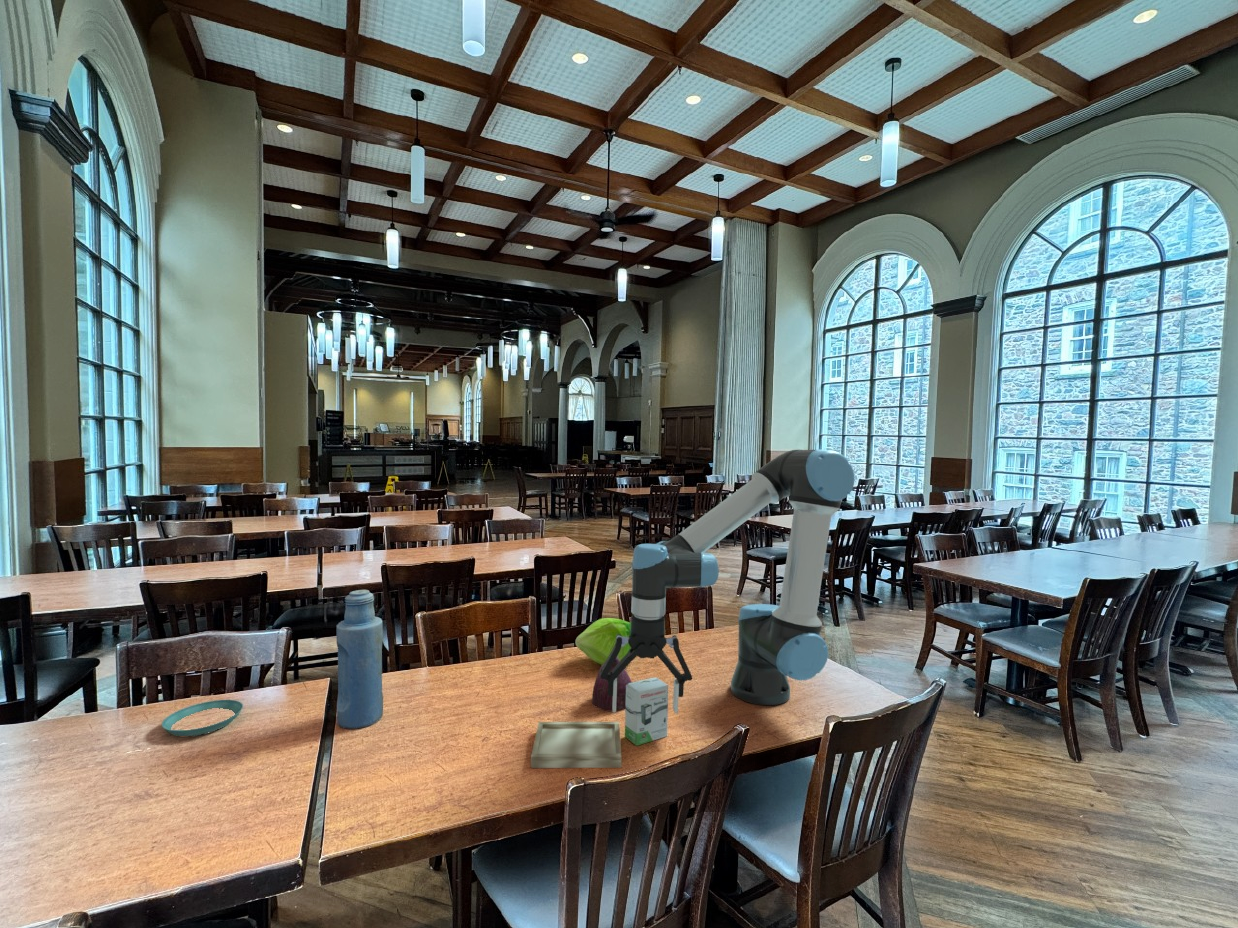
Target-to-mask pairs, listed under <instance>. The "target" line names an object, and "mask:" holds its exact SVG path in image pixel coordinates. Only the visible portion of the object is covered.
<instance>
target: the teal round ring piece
mask: <svg viewBox="0 0 1238 928" xmlns="http://www.w3.org/2000/svg"><path fill="white" fill-rule="evenodd" d="M212 708H219V709H220V708H223V709H229V710H232V711H233V712H234V713H235V715H234V716H232V717H230V718H229V719H227V720H224V721H222V722H219V723H217V724H214V725H210V726H207V727H203V728H198V729H191V730H171V727H172V725H173V724H175V723H176V722H177V721H179V720H181V719H182V718H184V717H186V716H189V715H191V714H194V713H196V712H200V711H203V710H207V709H212ZM243 709H244V703H242V702H241V701H239V700H235V699H218V700H217V699H216V700H209V701H204V702H201V703H195V704H193V705H189V706H187V707H184V708H181V709H178V710H176V711H174V712H173V713H171V714H170V715H168V716H167V717H166V718H164V719H163V720H162V722H161V727H162V729H164V730H165V731H166V732H167V733H169V734H171V735H173V736H176V735H177V737H179V736H193V737H197V736H196V735H199V736H202V735H201V734H204V735H206V734H205V733H208V732H211V733H213V732H212V731H214V732H216V731H215V730H217V729H219V730H221V729H223V728H225V727H227V726H228V725H230V724H229V723H232V722H233V721H234V720H235V719H237V718H238V716H239V715H240V713H241V711H242V710H243ZM226 725H227V726H226ZM224 726H225V727H224ZM222 727H223V728H222ZM220 728H221V729H220ZM217 731H218V730H217ZM208 734H209V733H208Z"/></svg>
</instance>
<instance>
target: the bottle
mask: <svg viewBox="0 0 1238 928" xmlns="http://www.w3.org/2000/svg"><path fill="white" fill-rule="evenodd" d="M374 601H375V597H374V593H371V592H370V590H368V589H358V590H357V589H356V590H353V591H350V592H349V594H348V595H346V596H345V597H344V602H345V610H344V616H343V617H344V620H341V621H340V622H338V624H336V645H337V646H336V647H337V687H338V688H337V690H338V691H337V692H338V693H337V701H336V721H337V722H336V723H337V725H338V726H339V727H340V728H344V729H348V730H350V729H351V730H352V729H353V730H355V729H356V730H357V729H361V728H366V727H369V726H372V725H373V724H375V723H377V722H378V721H380V720H381V719H382V718H383V715H384V695H383V678H382V677H383V655H382V653H383V651H382V649H383V638H384V637H383V636H384V635H383V634H384V633H383V632H384V631H383V627H384V626H383V619H382V618H380V617H378V616H375V615H376V613H375V612H376V611H375V607H374Z"/></svg>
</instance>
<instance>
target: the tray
mask: <svg viewBox="0 0 1238 928" xmlns="http://www.w3.org/2000/svg"><path fill="white" fill-rule="evenodd" d="M537 724H538V725H537V728H536V733H535V737H534V742H533V746H532V752H531V755H530V769H579V768H580V769H581V768H582V769H591V768H593V769H594V768H595V769H596V768H597V769H599V768H600V769H602V768H605V769H606V768H607V769H608V768H609V769H611V768H613V769H614V768H615V769H616V768H622V747H621V744H622V743H621V733H620V731H621V730H620V721H538V723H537Z"/></svg>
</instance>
